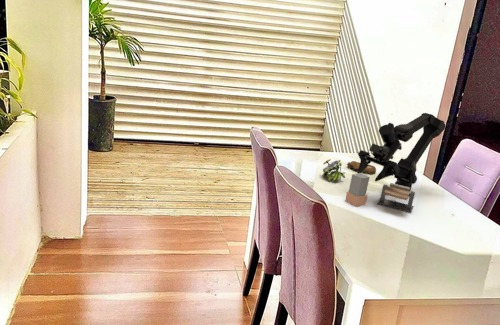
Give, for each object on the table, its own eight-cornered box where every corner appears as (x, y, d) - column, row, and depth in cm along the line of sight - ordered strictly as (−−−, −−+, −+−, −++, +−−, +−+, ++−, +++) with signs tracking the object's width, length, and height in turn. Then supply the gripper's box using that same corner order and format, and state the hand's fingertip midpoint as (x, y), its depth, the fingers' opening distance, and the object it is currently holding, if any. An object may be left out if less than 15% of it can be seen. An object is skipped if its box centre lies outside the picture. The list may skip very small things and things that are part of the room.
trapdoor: (388, 187, 199) (389, 182, 198) (410, 193, 195) (411, 188, 195) (383, 196, 188) (384, 190, 187) (406, 202, 184) (407, 196, 184)
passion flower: (322, 187, 225) (324, 163, 229) (346, 187, 222) (346, 164, 226) (320, 180, 215) (321, 155, 219) (344, 180, 212) (345, 155, 216)
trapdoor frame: (379, 199, 202) (383, 182, 200) (413, 208, 197) (417, 190, 195) (376, 204, 196) (380, 186, 194) (411, 213, 191) (415, 195, 189)
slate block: (356, 190, 197) (360, 173, 194) (365, 195, 193) (369, 177, 191) (348, 192, 194) (352, 174, 191) (357, 196, 190) (361, 178, 188)
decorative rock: (345, 171, 238) (375, 178, 236) (347, 164, 237) (377, 170, 234) (346, 164, 249) (374, 170, 246) (348, 157, 247) (376, 163, 245)
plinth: (354, 199, 198) (356, 190, 197) (365, 204, 194) (367, 195, 193) (345, 201, 195) (346, 192, 194) (356, 206, 190) (358, 197, 189)
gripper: (365, 131, 199) (343, 158, 195) (402, 143, 185) (379, 172, 182) (372, 148, 206) (351, 174, 202) (408, 161, 192) (386, 189, 189)
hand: (366, 177), depth 194 cm, fingers open, 9 cm apart
